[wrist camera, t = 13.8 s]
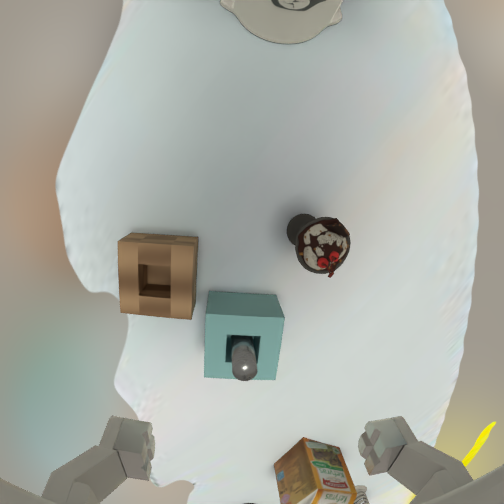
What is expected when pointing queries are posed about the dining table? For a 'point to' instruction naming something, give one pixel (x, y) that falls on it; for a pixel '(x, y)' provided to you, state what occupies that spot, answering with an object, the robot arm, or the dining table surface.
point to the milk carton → (314, 475)
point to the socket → (157, 275)
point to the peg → (243, 357)
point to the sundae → (319, 242)
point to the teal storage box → (242, 332)
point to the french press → (361, 495)
